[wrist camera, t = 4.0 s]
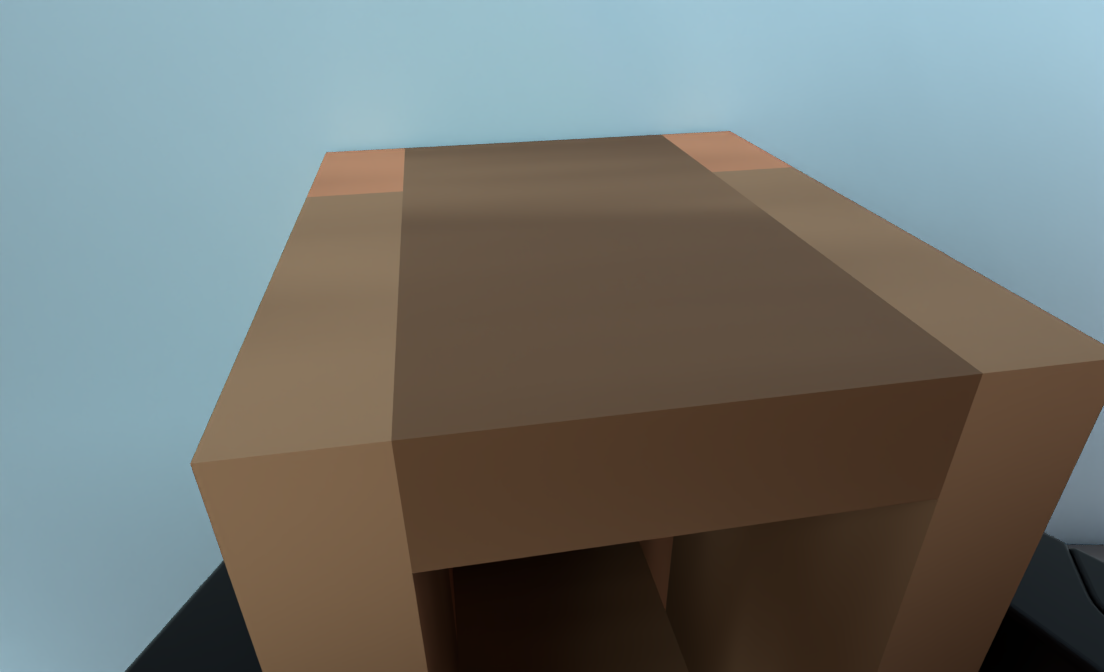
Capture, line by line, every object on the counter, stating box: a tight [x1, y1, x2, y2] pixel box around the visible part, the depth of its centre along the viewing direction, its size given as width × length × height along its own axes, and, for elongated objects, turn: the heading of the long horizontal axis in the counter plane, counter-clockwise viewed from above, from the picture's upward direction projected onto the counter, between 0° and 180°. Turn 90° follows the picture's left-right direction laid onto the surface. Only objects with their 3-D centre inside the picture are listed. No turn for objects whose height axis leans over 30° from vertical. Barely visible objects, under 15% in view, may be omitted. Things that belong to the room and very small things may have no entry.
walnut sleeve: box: [190, 131, 1104, 672], centre depth 7 cm, size 7×4×5 cm, turn 1°
